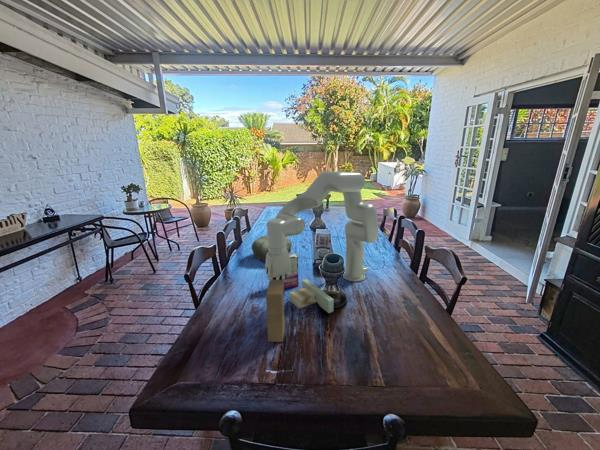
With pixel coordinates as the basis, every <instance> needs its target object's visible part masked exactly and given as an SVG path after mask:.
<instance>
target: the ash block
mask: <svg viewBox="0 0 600 450" xmlns="http://www.w3.org/2000/svg"><path fill="white" fill-rule="evenodd" d="M289 301H290V302H291V303H292V304H294V306H296V308H297V309H303V308H305V307H308V306H310V305H311V306H312V305H313V304H317V303H316V294H314V293H313V292H312V291H310V290H309V289H308V288H307V287H305V288H302V287H301V288H299V289H296V290H292V291H290V292H289Z"/></svg>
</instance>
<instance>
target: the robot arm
mask: <svg viewBox="0 0 600 450" xmlns="http://www.w3.org/2000/svg"><path fill="white" fill-rule="evenodd" d="M365 183H366V180H365V177H364V175H363V174H362V173H360V172H355V171H354V172H353V171H352V172H351V171H345V170H337V171H330V170H325V171H324V170H323V171H322V172H320V173H319V174H318V175H317V177H316V178H315V179H314V181H313V182H312V183H311V184H310V185H309V186H308V188H307V189H306V190H305V191H304V192H303V193H302V194H300V195H298V196H296V197H294V198H293V199H291V200H289V201H288V202H287V203H286V204H285V205H283V207H282V208H281V209H280V210H279V211H278V213H277V214H276V216H275V218H271V219H269V220H268V221H267V222H266V231H267V235H266V236H268V251H269V252H268V253H267V254H266V261H265V265H264V266H265V267H264V268H265V274H266V280H268V281H270V280H285V278H286V276H288V275H289V274H291V261H290V256H289V254H290V253H289V252H288V250H287V248H288V247H290V245H289V244H287V239H286V237H290V236H298V235H300V234H302V233H303V232H304V231H305V228H306V221H304V219H303V218H301V217H300V216H296V215H298V214H299V213H301V212H304V211H306V210H311V209H312V210H313V209H315V208H318V207H320V206H321V204H322V203H323V202H324V200H325V199H326V198H327V196H328V195H329V194H330V193H331V192H334V193H341V194H342V196H343V203H344V209H345V215H346V217H347V218H348V219H349V221H347V223H346V224H345V226H344V234H345V258H344V259H345V264H344V271H345V273H344V275H343V277H342V278H343V279H344V280H346V281H347V282H348V281H349V282H354V283H355V282H361V281H363V280H365V279H366V273H365V272H368V271H369V270H370V267H368V266H366V267H364V257H365V244H364V242H365V243H367V244H372V243H373V244H374V243H375V242H376V241H377V240H378V237H379V220H378V210H377V209H376V207H375V206H374V204H371V203H366V202H363V198H362V193H361V191H362V190H363V189H364V187H365V185H366V184H365Z"/></svg>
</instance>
